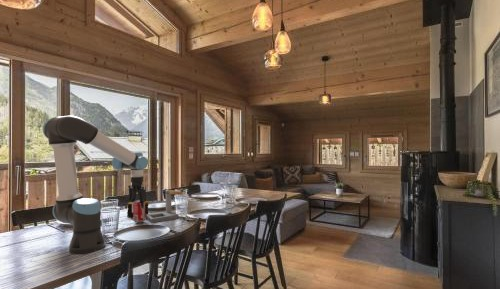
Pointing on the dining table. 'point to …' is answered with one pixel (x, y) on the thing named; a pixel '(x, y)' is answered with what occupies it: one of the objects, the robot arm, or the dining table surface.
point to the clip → (175, 192)
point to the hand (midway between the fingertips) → (137, 212)
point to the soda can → (138, 212)
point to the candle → (130, 213)
